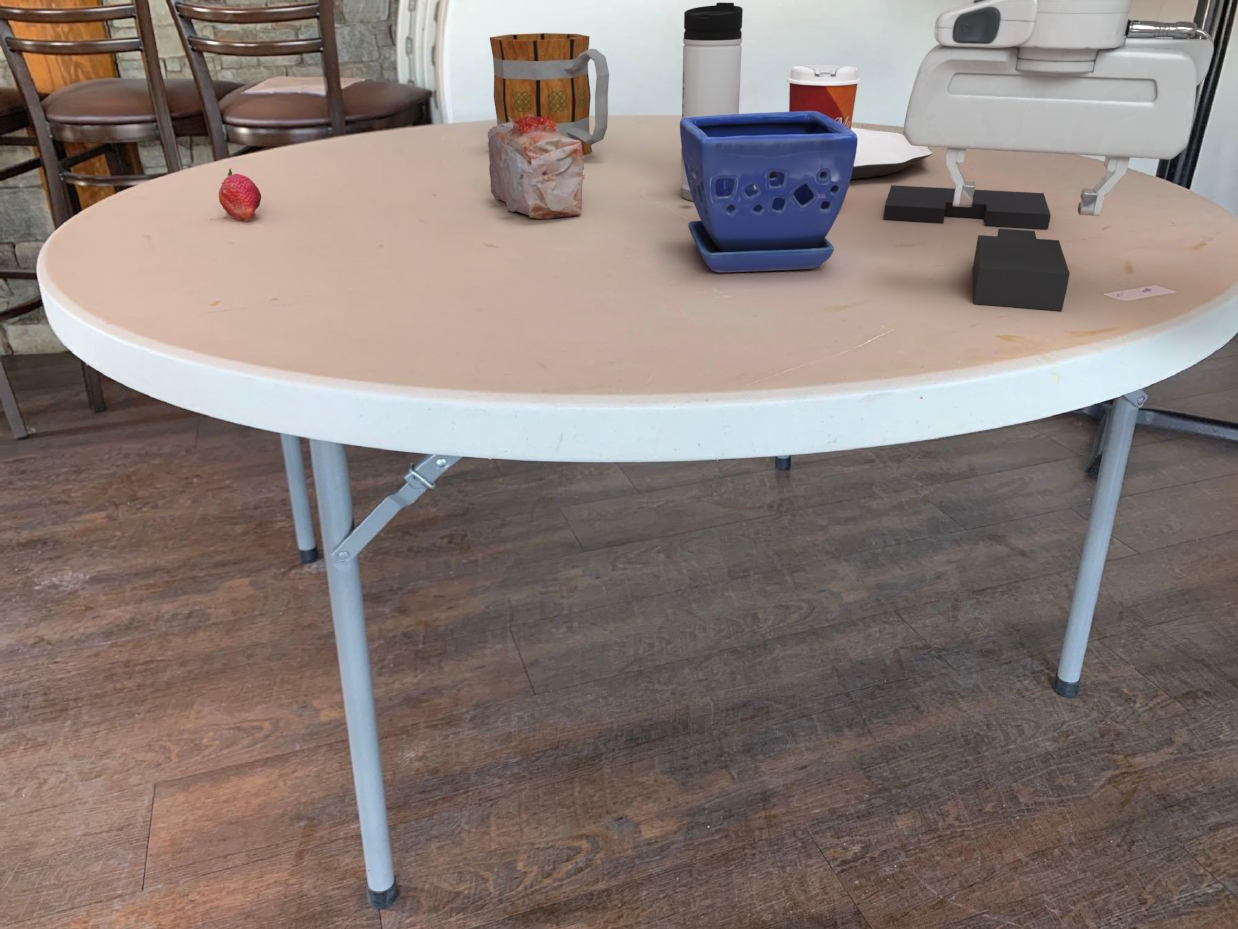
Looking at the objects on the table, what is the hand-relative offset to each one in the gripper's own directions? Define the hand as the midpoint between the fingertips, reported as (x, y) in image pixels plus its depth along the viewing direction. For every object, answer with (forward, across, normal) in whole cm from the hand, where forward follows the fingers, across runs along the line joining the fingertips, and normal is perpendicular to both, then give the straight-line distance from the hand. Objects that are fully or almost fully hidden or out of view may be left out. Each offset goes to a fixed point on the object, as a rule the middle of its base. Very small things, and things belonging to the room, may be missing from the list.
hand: (1024, 209), depth 77 cm
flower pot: (+7, +22, -3) cm, 23 cm away
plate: (+7, +23, -50) cm, 55 cm away
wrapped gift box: (+7, +49, -16) cm, 52 cm away
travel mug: (+7, +32, -27) cm, 42 cm away
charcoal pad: (+6, +4, -26) cm, 27 cm away
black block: (+6, 0, -1) cm, 7 cm away
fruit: (+8, +78, -4) cm, 78 cm away
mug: (+7, +58, -47) cm, 75 cm away
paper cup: (+7, +20, -27) cm, 34 cm away
